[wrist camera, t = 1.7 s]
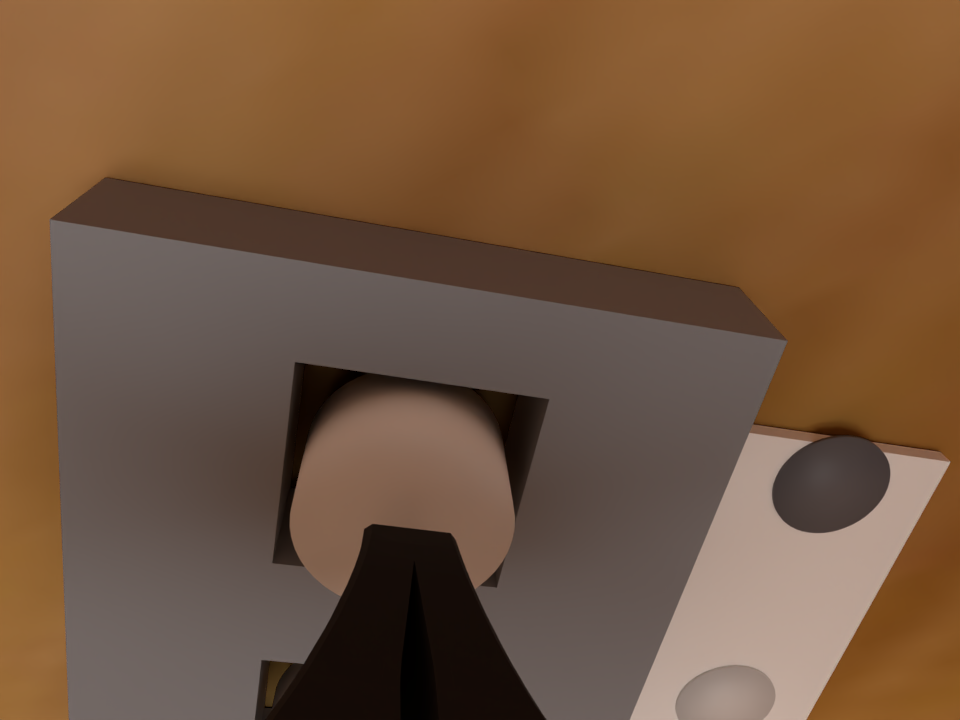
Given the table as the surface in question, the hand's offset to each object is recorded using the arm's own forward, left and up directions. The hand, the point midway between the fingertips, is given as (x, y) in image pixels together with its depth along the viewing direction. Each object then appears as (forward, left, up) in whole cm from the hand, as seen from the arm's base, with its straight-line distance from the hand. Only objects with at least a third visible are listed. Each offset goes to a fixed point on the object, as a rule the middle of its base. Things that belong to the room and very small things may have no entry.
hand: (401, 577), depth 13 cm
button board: (0, +7, -5) cm, 8 cm away
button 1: (0, 0, -3) cm, 3 cm away
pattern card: (-10, +7, -5) cm, 13 cm away
